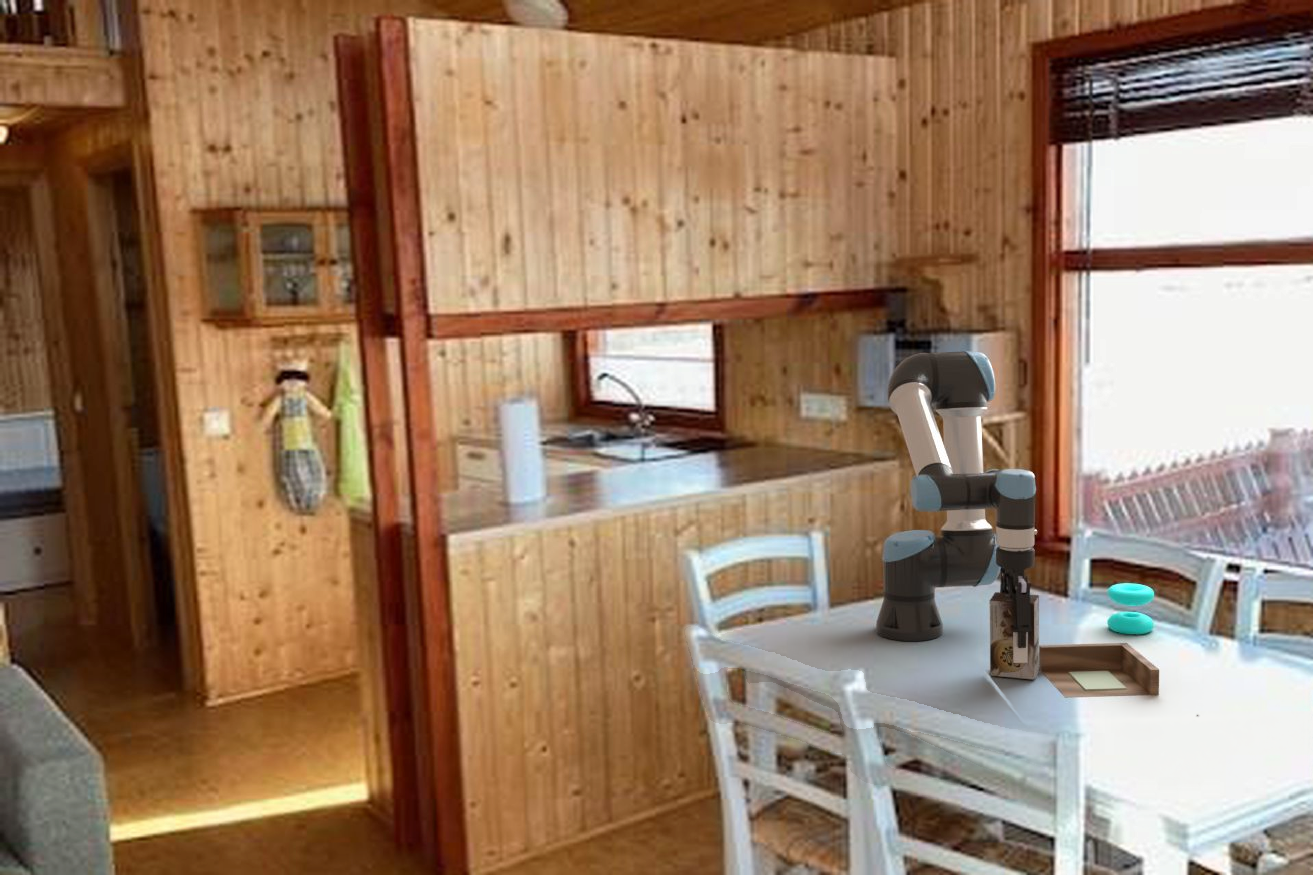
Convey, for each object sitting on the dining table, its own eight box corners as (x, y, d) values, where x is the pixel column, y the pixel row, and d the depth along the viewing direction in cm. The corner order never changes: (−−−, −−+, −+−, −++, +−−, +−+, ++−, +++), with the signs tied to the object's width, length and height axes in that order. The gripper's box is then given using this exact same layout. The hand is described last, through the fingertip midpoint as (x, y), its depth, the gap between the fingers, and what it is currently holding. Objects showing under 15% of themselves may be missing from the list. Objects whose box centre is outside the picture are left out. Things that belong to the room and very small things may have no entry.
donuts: (1162, 586, 295) (1140, 595, 289) (1162, 629, 297) (1139, 638, 290) (1122, 579, 303) (1099, 587, 296) (1121, 621, 304) (1098, 630, 298)
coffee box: (1039, 670, 266) (1040, 594, 264) (1034, 680, 261) (1035, 602, 258) (994, 666, 270) (994, 590, 268) (988, 675, 264) (989, 598, 262)
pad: (1068, 673, 265) (1068, 671, 265) (1107, 672, 265) (1107, 670, 265) (1085, 690, 254) (1085, 689, 254) (1126, 689, 254) (1126, 687, 254)
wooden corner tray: (1039, 672, 269) (1039, 645, 268) (1126, 669, 269) (1126, 642, 268) (1065, 701, 251) (1065, 672, 250) (1158, 698, 251) (1159, 669, 250)
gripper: (1049, 558, 251) (1047, 671, 254) (1020, 534, 272) (1019, 639, 275) (1010, 559, 251) (1009, 672, 254) (984, 535, 272) (983, 640, 275)
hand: (1014, 655), depth 265 cm, fingers closed on coffee box, 8 cm apart
